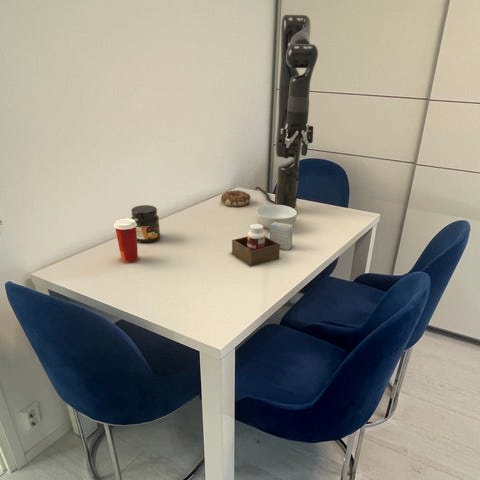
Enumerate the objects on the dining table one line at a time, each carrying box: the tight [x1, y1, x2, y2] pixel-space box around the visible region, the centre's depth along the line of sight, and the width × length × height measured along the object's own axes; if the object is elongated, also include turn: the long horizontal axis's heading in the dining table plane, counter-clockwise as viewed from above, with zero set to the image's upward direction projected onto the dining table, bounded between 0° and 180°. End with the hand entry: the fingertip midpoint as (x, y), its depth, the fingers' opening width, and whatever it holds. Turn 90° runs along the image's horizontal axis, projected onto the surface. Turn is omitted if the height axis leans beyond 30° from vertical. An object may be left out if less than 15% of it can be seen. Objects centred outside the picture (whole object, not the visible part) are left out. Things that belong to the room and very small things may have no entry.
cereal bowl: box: [255, 204, 298, 230], centre depth 190 cm, size 17×17×7 cm
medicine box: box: [268, 222, 294, 251], centre depth 172 cm, size 8×4×9 cm, turn 65°
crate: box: [231, 235, 281, 267], centre depth 165 cm, size 12×12×6 cm
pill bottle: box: [247, 223, 266, 251], centre depth 164 cm, size 6×6×11 cm
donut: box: [220, 189, 251, 207], centre depth 218 cm, size 14×14×5 cm
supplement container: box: [130, 204, 161, 244], centre depth 177 cm, size 10×10×12 cm
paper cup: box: [113, 218, 139, 264], centre depth 159 cm, size 8×8×14 cm
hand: (294, 156), depth 171 cm, fingers open, 8 cm apart
